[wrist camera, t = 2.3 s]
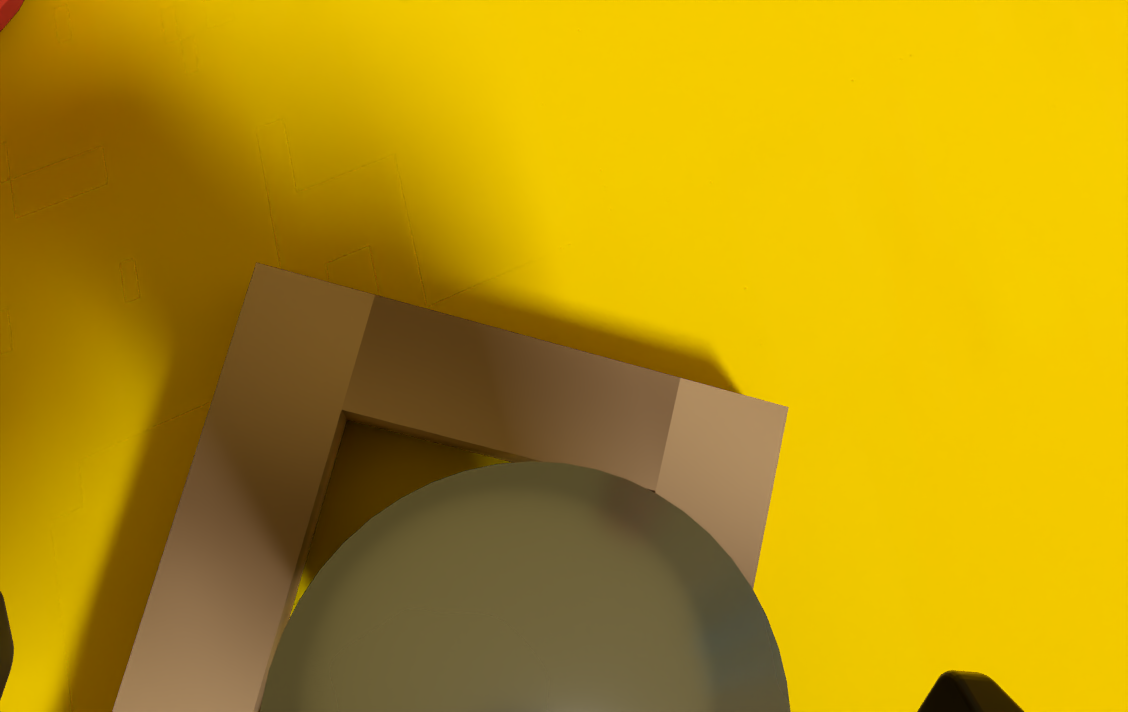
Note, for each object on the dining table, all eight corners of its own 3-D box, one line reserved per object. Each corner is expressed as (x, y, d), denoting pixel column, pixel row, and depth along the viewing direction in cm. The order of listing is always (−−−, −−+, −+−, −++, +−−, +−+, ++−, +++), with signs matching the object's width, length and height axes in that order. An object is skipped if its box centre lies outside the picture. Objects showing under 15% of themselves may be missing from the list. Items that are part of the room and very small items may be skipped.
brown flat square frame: (651, 947, 17) (675, 986, 15) (94, 832, 16) (63, 863, 14) (758, 416, 19) (788, 407, 17) (268, 284, 18) (256, 262, 16)
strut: (528, 734, 17) (734, 1075, 6) (324, 688, 17) (181, 968, 6) (577, 530, 18) (833, 530, 7) (383, 481, 17) (347, 404, 7)
